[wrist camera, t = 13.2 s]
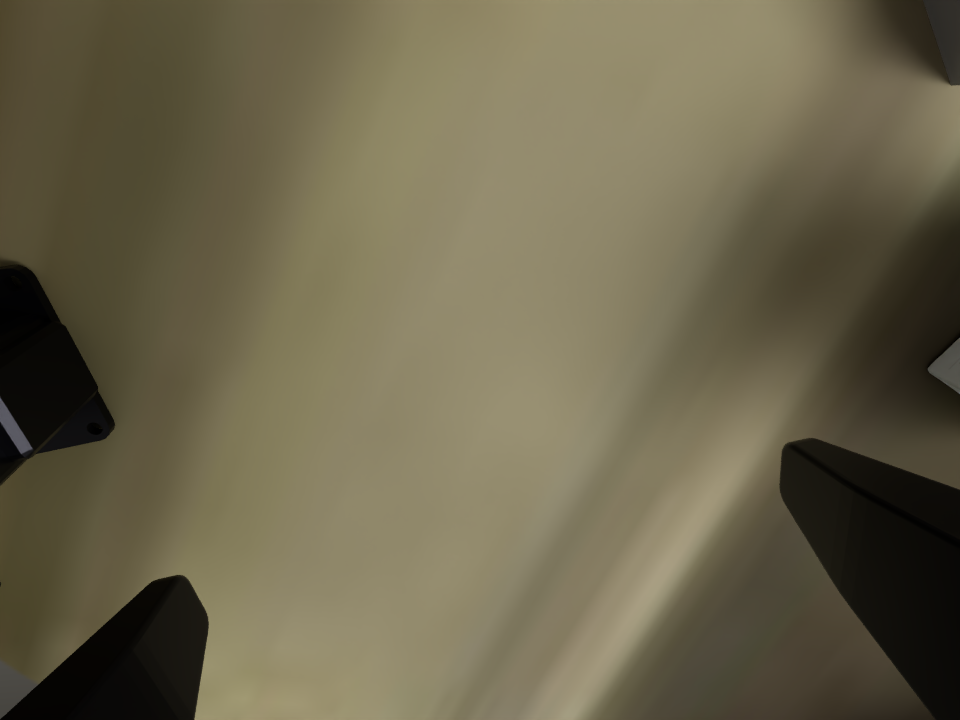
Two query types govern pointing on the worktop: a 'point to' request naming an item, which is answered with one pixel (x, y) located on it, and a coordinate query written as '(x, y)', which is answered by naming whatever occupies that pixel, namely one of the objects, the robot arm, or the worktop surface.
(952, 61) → the light gray block
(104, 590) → the worktop surface
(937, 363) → the supplement box
